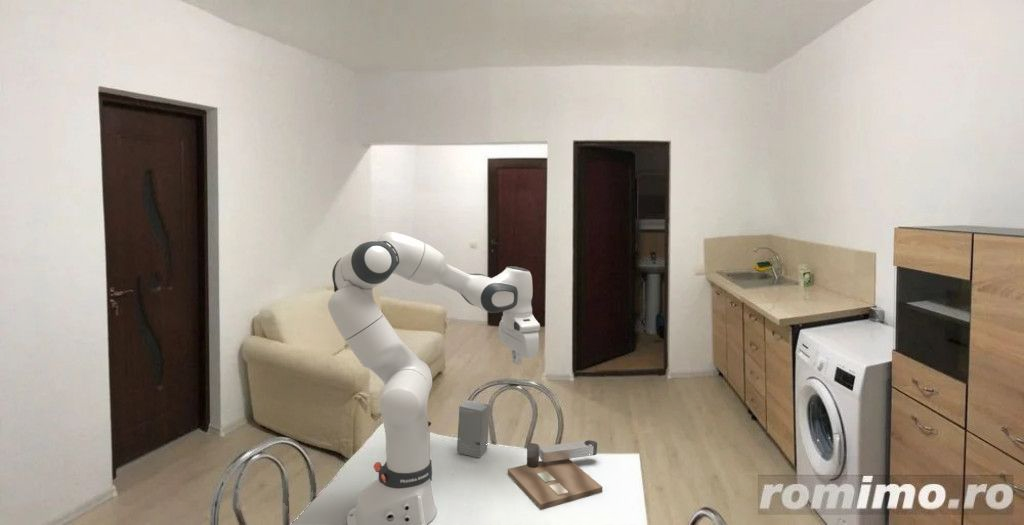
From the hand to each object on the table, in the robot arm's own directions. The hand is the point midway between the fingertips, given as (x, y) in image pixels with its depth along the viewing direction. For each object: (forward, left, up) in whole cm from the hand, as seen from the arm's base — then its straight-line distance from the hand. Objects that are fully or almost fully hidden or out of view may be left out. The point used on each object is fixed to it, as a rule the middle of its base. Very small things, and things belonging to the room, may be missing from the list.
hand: (516, 363), depth 165 cm
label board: (+4, -17, -31) cm, 36 cm away
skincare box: (-10, +10, -31) cm, 34 cm away
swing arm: (+14, -10, -28) cm, 33 cm away
